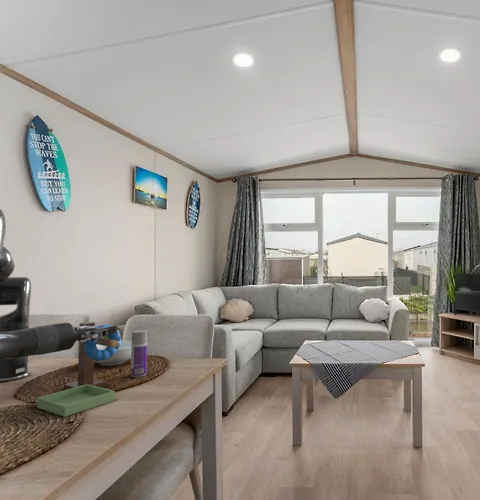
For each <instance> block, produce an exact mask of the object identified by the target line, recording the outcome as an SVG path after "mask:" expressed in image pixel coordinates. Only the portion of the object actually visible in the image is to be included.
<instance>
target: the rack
mask: <svg viewBox="0 0 480 500" xmlns="http://www.w3.org/2000/svg"><path fill="white" fill-rule="evenodd" d="M87 325H89V326H96V322H93V321H86V322H79V325H78V326H87ZM84 342H85V341H84ZM84 342H78V364H77V365H78V366H77V380H75V381H72V382H68V383H65V384H64V385H63V390H67V389H71V388H75V387H78V386H82V385H86V384H89V385H92V386H96V387H100V388H104V387H107V385H108V383H107V380H104V379H99V378H95V377H94V376H95V362H94V360H93V359H91V358H89V357H88V356H87V355H86V353H85V350H84ZM96 344H98V345H103V346H109V347H114V348H115V347H117V346H118V344H119V342H118V341H116V340H110V339H109V338H102V339H98V340H97V343H96Z"/></svg>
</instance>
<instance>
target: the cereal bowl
mask: <svg viewBox="0 0 480 500" xmlns="http://www.w3.org/2000/svg"><path fill="white" fill-rule="evenodd" d="M96 346H97V349H99V350H104V349H105V348H106V347H107V346H103V345H98V344H96ZM131 348H132V340H125V339H124V340H122V339H121V343H120V346H119V349H118V351H117V352H116V353H115V354H113V355H112V356H111V357H110V358H109V359H105V360H101V361H95V360H94V364H99V366H105V367H109V366H117V365H121V364H124V363H125V362H126V361H129V360H131Z"/></svg>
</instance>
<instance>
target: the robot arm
mask: <svg viewBox="0 0 480 500" xmlns="http://www.w3.org/2000/svg"><path fill="white" fill-rule="evenodd" d="M6 229H7V222H6V215H5V213H4V212H3V210H2V208H0V306H16V308H15V309H14V310H12V311H10V312H8V313H4V314H2V315H0V382H9V381H14V380H19V379H22V378H26V377H27V376H28V375H29V369H28V368H29V357H31V356H42V355H47V354H53V353H58V352H62V351H63V352H64V351H68V350H71V349H72V348H73V347H74V345H76V342H77V341H78V343H79V342H84V341H86V340H91V341H95V340H98V339H102V338H104V339H106V338H108V336H107V335H109V334H114V333H117V329H118V326H117V325H111V326H110V327H102V328H97V325H95V326H89V325H87V326H79V325H78V326H73V325H72V324H71V322H59V323H52V324H45V325H38V326H34V327H30V311H31V310H30V307H31V296H32V281H31V280H30V279H31V278H29V277H26V276H11V275H13V272H14V271H15V267H16V266H15V265H16V264H15V260H14V259H13V256H12V254H11V252H10V251H9V250H8V248H6V247H5V246H4V242H5V238H6V231H7V230H6ZM92 330H93V331H92ZM118 330H119V329H118Z"/></svg>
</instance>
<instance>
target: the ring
mask: <svg viewBox="0 0 480 500" xmlns="http://www.w3.org/2000/svg"><path fill="white" fill-rule="evenodd" d="M110 326H112V325H111V324H102V325H96V327H97V328H102V327H110ZM92 331H93V330H92ZM107 338H108V339H110V340H116V341H118V342H119V344H118V346H117V347H115V348H114V347H109V346H107V347H106V348H105V349H104V350H99V349H97V346H96V343H97V340H95V341H91V340H86V341H85V342H84V350H85V353H86V355H87V356H88V357H89V358H91V359H93V360H95V361H101V360H105V359H109V358H110V357H111V356H112V355H113V354H115V353H116V352H117V351H118V349H119V346H120V343H121V340H122V337H121V334H120V331H119V329H117V333H114V334H109V335H107Z"/></svg>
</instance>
